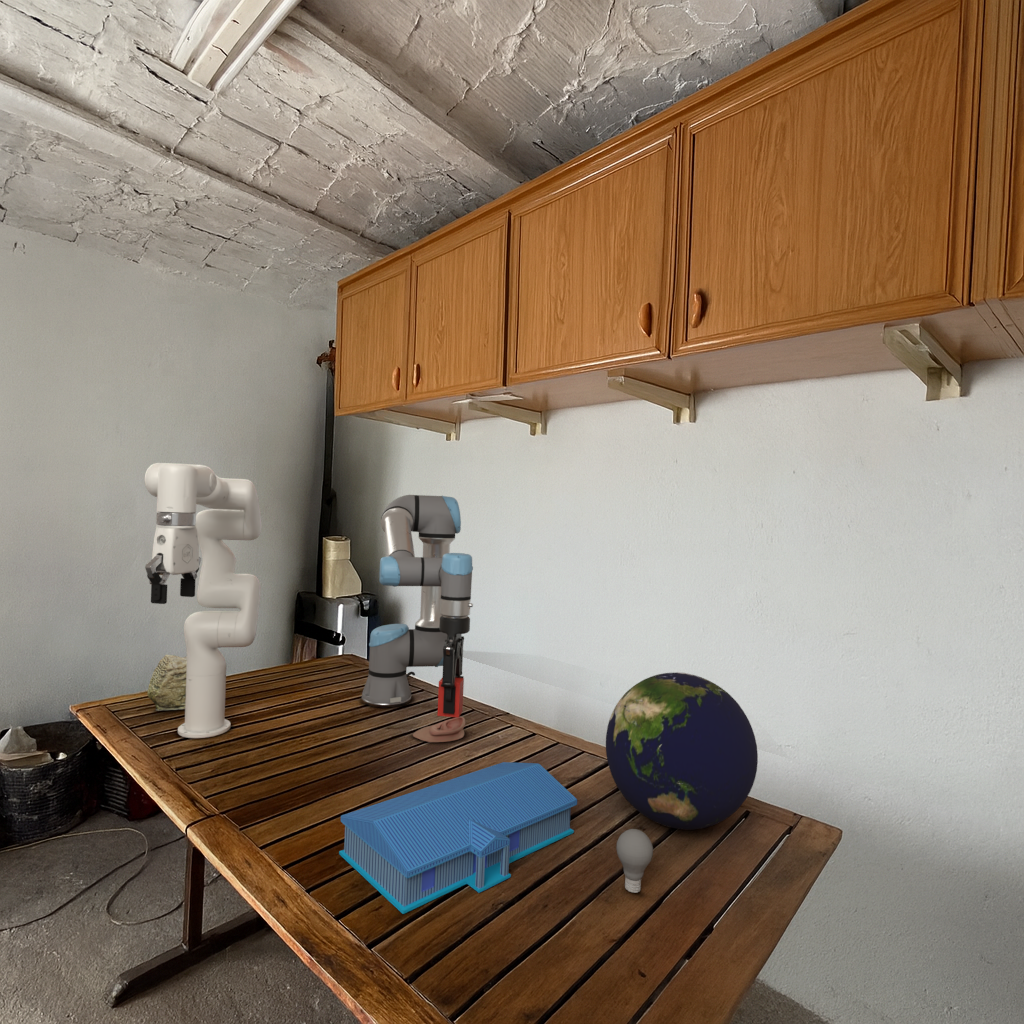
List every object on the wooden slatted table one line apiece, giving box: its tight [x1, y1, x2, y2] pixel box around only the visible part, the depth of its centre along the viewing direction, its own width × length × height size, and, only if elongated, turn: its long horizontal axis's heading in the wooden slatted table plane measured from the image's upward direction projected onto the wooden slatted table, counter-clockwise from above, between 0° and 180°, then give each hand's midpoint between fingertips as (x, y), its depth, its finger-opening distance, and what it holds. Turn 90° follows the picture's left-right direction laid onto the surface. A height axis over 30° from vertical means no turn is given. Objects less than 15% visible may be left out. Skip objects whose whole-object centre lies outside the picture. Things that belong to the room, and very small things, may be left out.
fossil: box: [147, 654, 187, 712], centre depth 185 cm, size 9×18×15 cm, turn 132°
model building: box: [338, 761, 578, 915], centre depth 117 cm, size 39×24×10 cm, turn 132°
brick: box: [436, 676, 465, 718], centre depth 157 cm, size 5×5×8 cm
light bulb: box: [615, 828, 654, 894], centre depth 106 cm, size 6×6×10 cm
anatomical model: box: [412, 716, 466, 743], centre depth 171 cm, size 13×4×12 cm
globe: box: [605, 671, 759, 831], centre depth 130 cm, size 30×30×30 cm
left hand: (173, 599), depth 137 cm, fingers open, 9 cm apart
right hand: (451, 709), depth 157 cm, fingers closed on brick, 5 cm apart
